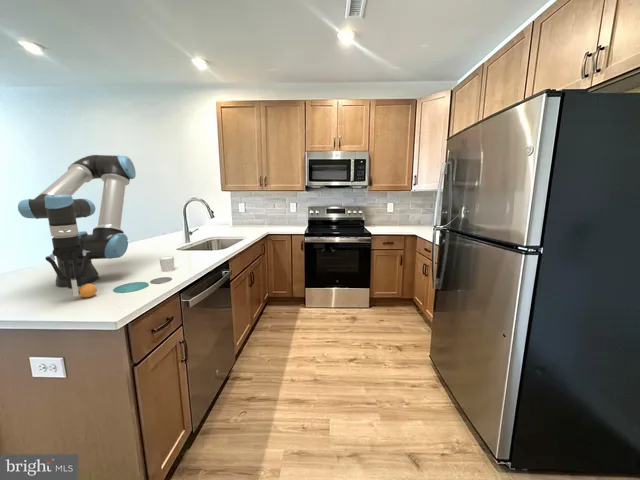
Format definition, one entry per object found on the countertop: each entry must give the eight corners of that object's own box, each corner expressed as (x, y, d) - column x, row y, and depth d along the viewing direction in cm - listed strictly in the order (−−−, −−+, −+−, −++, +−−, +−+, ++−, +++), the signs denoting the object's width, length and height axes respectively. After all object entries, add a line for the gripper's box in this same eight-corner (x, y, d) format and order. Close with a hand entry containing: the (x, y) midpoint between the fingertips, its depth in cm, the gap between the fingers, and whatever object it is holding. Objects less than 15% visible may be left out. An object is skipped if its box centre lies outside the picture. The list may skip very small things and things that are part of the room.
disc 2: (145, 283, 123) (145, 282, 123) (160, 277, 132) (160, 276, 132) (162, 284, 122) (161, 284, 122) (176, 278, 130) (176, 277, 130)
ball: (76, 299, 105) (73, 285, 104) (90, 293, 110) (88, 281, 109) (87, 300, 104) (84, 286, 103) (101, 294, 109) (99, 282, 108)
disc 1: (105, 291, 113) (104, 291, 113) (131, 281, 126) (131, 281, 125) (130, 293, 110) (130, 293, 110) (155, 283, 123) (155, 282, 123)
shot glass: (164, 268, 146) (163, 256, 145) (177, 268, 147) (176, 256, 146) (158, 272, 140) (156, 259, 138) (171, 272, 140) (170, 259, 139)
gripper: (40, 239, 93) (53, 303, 97) (89, 235, 102) (99, 293, 107) (40, 237, 98) (52, 297, 102) (86, 233, 107) (95, 288, 112)
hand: (76, 295), depth 104 cm, fingers closed
